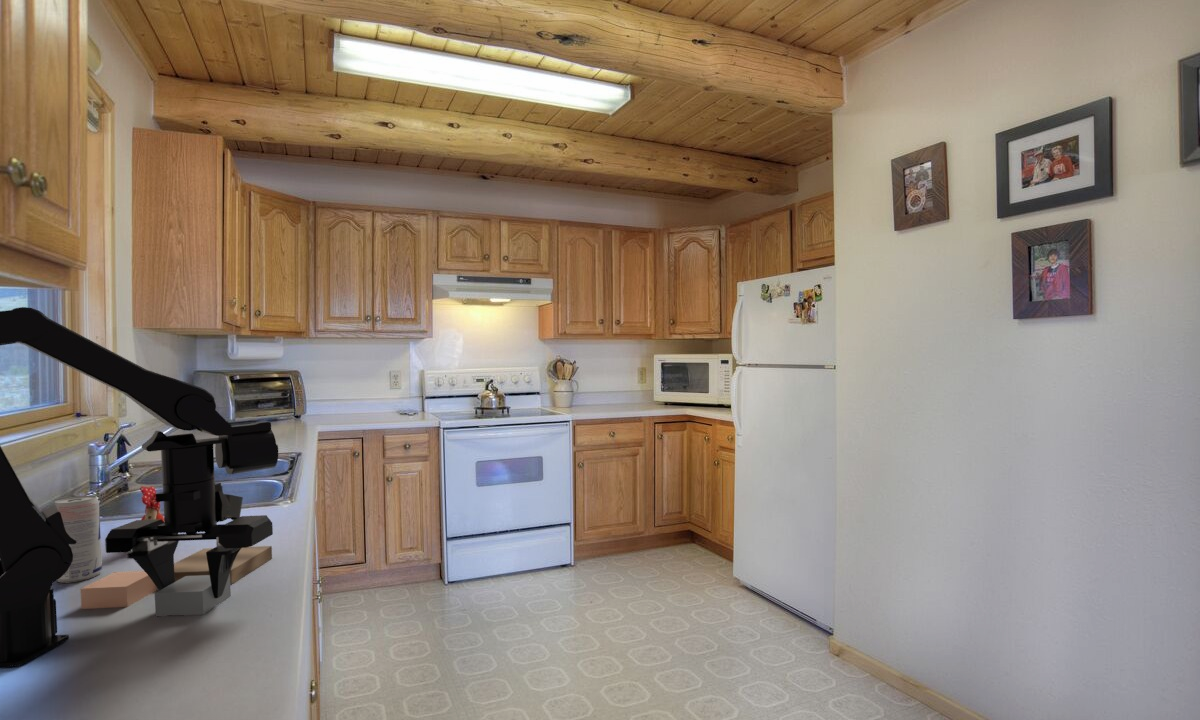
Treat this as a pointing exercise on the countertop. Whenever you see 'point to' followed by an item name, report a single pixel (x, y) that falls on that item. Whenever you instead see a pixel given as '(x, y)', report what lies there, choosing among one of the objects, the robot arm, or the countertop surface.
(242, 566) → the walnut tower base
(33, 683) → the countertop surface
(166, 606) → the gray brick
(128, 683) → the countertop surface
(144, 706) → the countertop surface
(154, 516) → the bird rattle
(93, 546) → the energy drink
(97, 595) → the terracotta brick
